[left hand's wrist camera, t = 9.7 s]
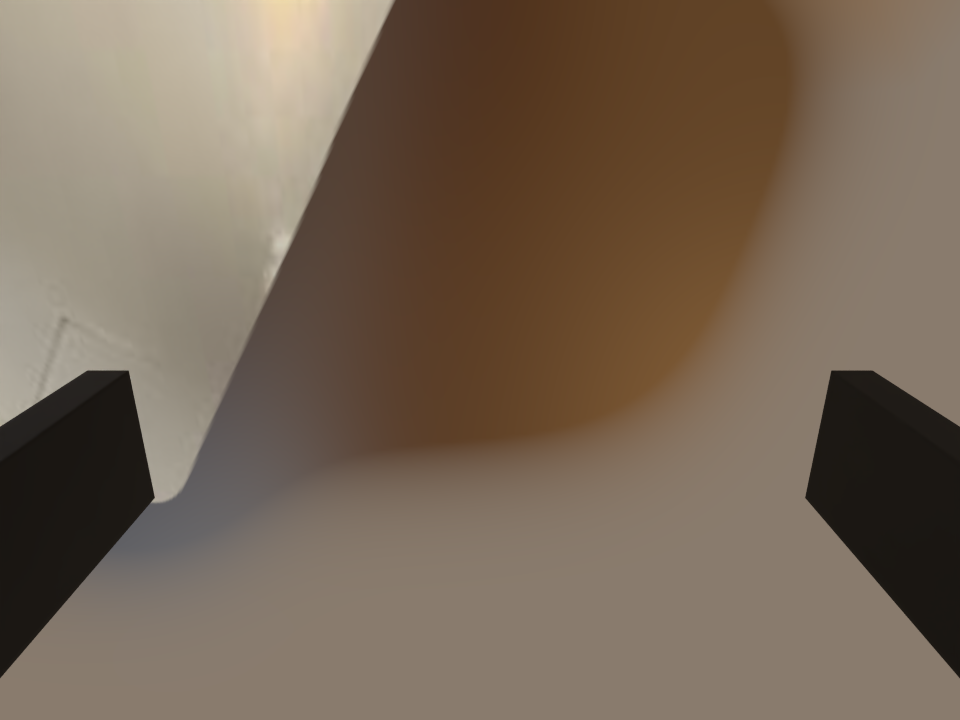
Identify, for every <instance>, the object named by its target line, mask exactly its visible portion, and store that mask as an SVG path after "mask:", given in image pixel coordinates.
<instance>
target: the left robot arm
mask: <svg viewBox="0 0 960 720" xmlns="http://www.w3.org/2000/svg"><path fill="white" fill-rule="evenodd" d="M154 498H155V497H154V492H153V487H152V482H151V477H150V472H149V468H148V463H147V458H146V453H145V448H144V443H143V438H142V433H141V429H140V424H139V419H138V414H137V409H136V404H135V399H134V395H133V390H132V385H131V380H130V375H129V371H86V372H85V373H83V374H82V375H80V376H78V377H77V378H75V379H74V380H72V381H71V382H69V383H68V384H66V385H64V386H63V387H61V388H60V389H58V390H57V391H55V392H54V393H52V394H50V395H49V396H47V397H46V398H44V399H43V400H41V401H40V402H38V403H36V404H35V405H33V406H32V407H30V408H29V409H27V410H26V411H24V412H22V413H21V414H19V415H18V416H16V417H15V418H13V419H12V420H10V421H8V422H7V423H5V424H4V425H2V426H1V427H0V678H1V676H2V675H3V674H4V673H5V672H6V671H7V669H8V668H9V667H10V666H11V665H12V664H13V663H14V661H15V660H16V659H17V658H18V657H19V656H20V654H21V653H22V652H23V651H24V650H25V649H26V647H27V646H28V645H29V644H30V643H31V642H32V640H33V639H34V638H35V637H36V636H37V635H38V633H39V632H40V631H41V630H42V629H43V628H44V626H45V625H46V624H47V623H48V622H49V620H50V619H51V618H52V617H53V616H54V615H55V614H56V612H57V611H58V610H59V609H60V608H61V607H62V605H63V604H64V603H65V602H66V601H67V600H68V598H69V597H70V596H71V595H72V594H73V593H74V591H75V590H76V589H77V588H78V587H79V585H80V584H81V583H82V582H83V581H84V580H85V579H86V577H87V576H88V575H89V574H90V573H91V572H92V570H93V569H94V568H95V567H96V566H97V565H98V563H99V562H100V561H101V560H102V559H103V558H104V556H105V555H106V554H107V553H108V552H109V551H110V549H111V548H112V547H113V546H114V545H115V544H116V542H117V541H118V540H119V539H120V538H121V537H122V535H123V534H124V533H125V532H126V531H127V530H128V528H129V527H130V526H131V525H132V524H133V523H134V521H135V520H136V519H137V518H138V517H139V515H140V514H141V513H142V512H143V511H144V510H145V509H146V507H147V506H148V505H149V504H150V503H151V502H152V500H153V499H154ZM805 498H806V499H807V500H808V502H809V503H810V504H811V505H812V506H813V507H814V509H815V510H816V511H817V512H818V513H819V514H820V516H821V517H822V518H823V519H824V520H825V521H826V522H827V524H828V525H829V526H830V527H831V528H832V530H833V531H834V532H835V533H836V534H837V535H838V536H839V538H840V539H841V540H842V541H843V542H844V544H845V545H846V546H847V547H848V548H849V549H850V551H851V552H852V553H853V554H854V555H855V556H856V558H857V559H858V560H859V561H860V562H861V563H862V565H863V566H864V567H865V568H866V569H867V570H868V572H869V573H870V574H871V575H872V576H873V577H874V579H875V580H876V581H877V582H878V583H879V584H880V586H881V587H882V588H883V589H884V590H885V591H886V593H887V594H888V595H889V596H890V597H891V598H892V600H893V601H894V602H895V603H896V604H897V605H898V607H899V608H900V609H901V610H902V611H903V612H904V614H905V615H906V616H907V617H908V618H909V619H910V621H911V622H912V623H913V624H914V625H915V626H916V628H917V629H918V630H919V631H920V632H921V633H922V634H923V636H924V637H925V638H926V639H927V640H928V641H929V643H930V644H931V645H932V646H933V647H934V649H935V650H936V651H937V652H938V653H939V654H940V656H941V657H942V658H943V659H944V660H945V661H946V662H947V664H948V665H949V666H950V667H951V668H952V669H953V671H954V672H955V673H956V674H957V675H958V677H959V678H960V427H959V426H958V425H956V424H955V423H953V422H952V421H950V420H948V419H947V418H945V417H944V416H942V415H941V414H939V413H937V412H936V411H934V410H933V409H931V408H930V407H928V406H927V405H925V404H924V403H922V402H920V401H919V400H917V399H916V398H914V397H913V396H911V395H910V394H908V393H906V392H905V391H903V390H902V389H900V388H899V387H897V386H896V385H894V384H892V383H891V382H889V381H888V380H886V379H885V378H883V377H882V376H880V375H878V374H877V373H875V372H874V371H831V375H830V380H829V385H828V390H827V395H826V400H825V404H824V409H823V414H822V419H821V424H820V429H819V434H818V439H817V443H816V448H815V453H814V458H813V463H812V468H811V472H810V477H809V482H808V487H807V492H806V497H805Z"/></svg>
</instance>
